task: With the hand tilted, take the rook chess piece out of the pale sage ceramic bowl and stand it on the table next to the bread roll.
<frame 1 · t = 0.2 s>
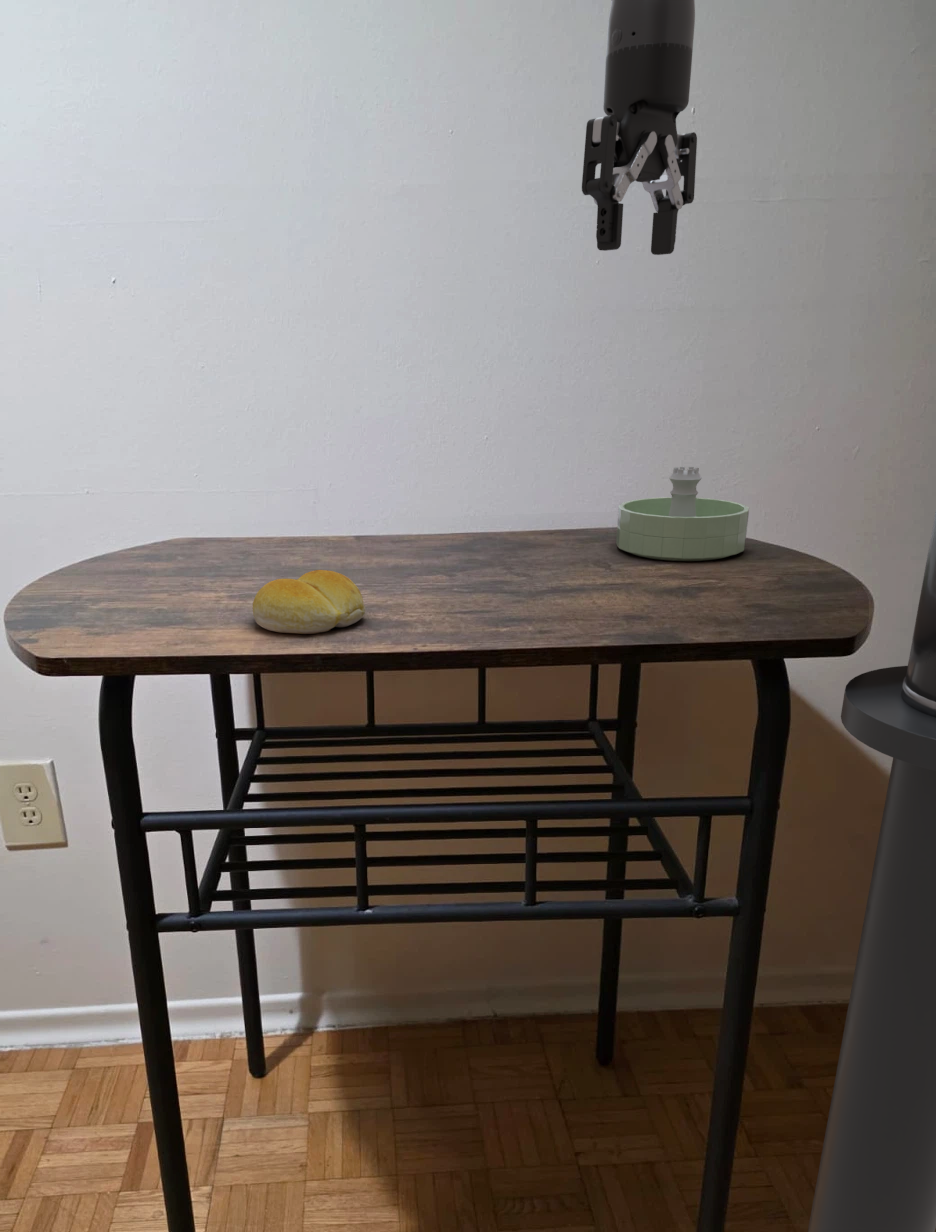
hand: (636, 252, 92), 29 cm above the table, tool pointing down, fingers open, 8 cm apart
bread roll: (310, 623, 80), on the table
bowl: (679, 549, 103), on the table
rook chess piece: (679, 547, 103), resting on bowl
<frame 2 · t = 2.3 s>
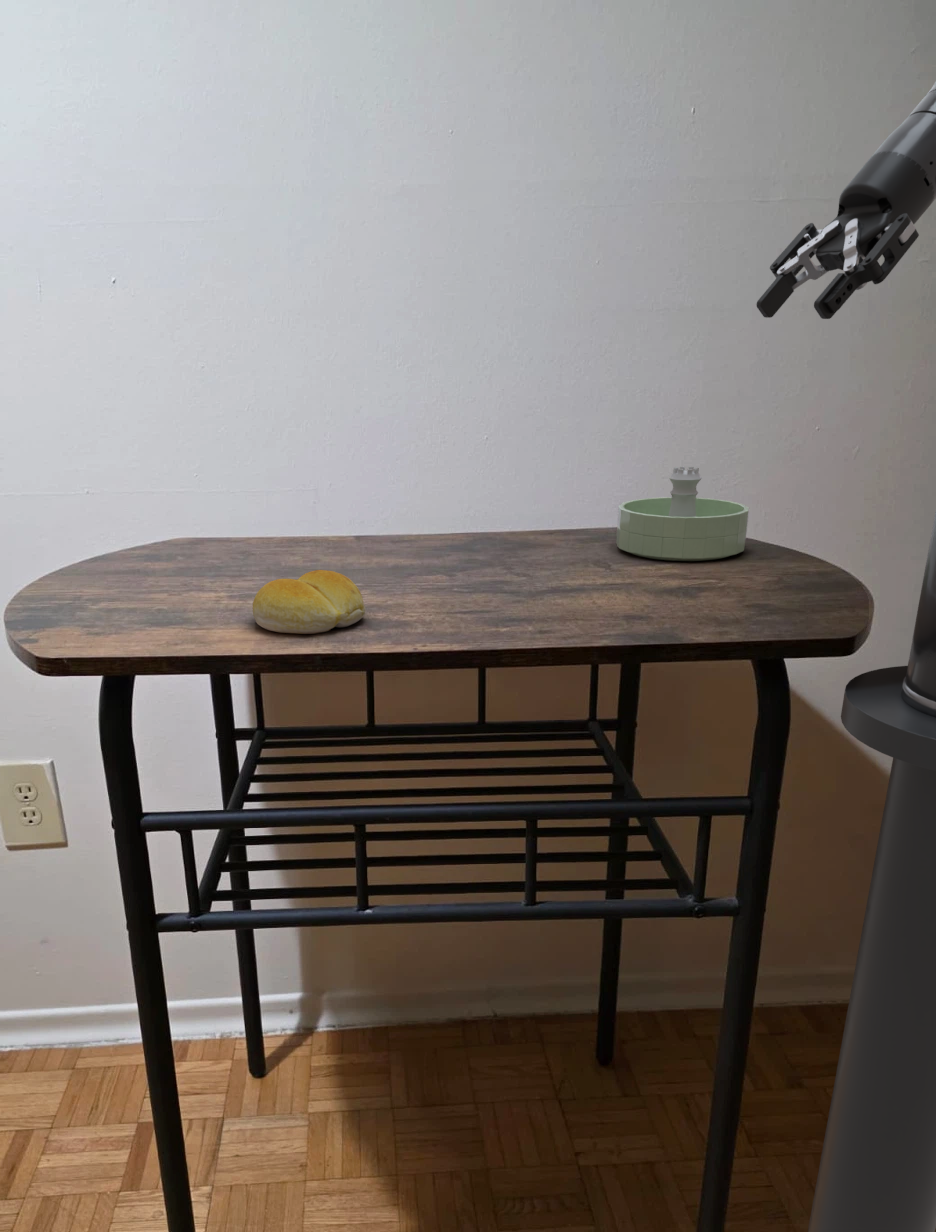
hand: (790, 312, 97), 23 cm above the table, tool tilted 45°, fingers open, 8 cm apart
nothing on the table moved.
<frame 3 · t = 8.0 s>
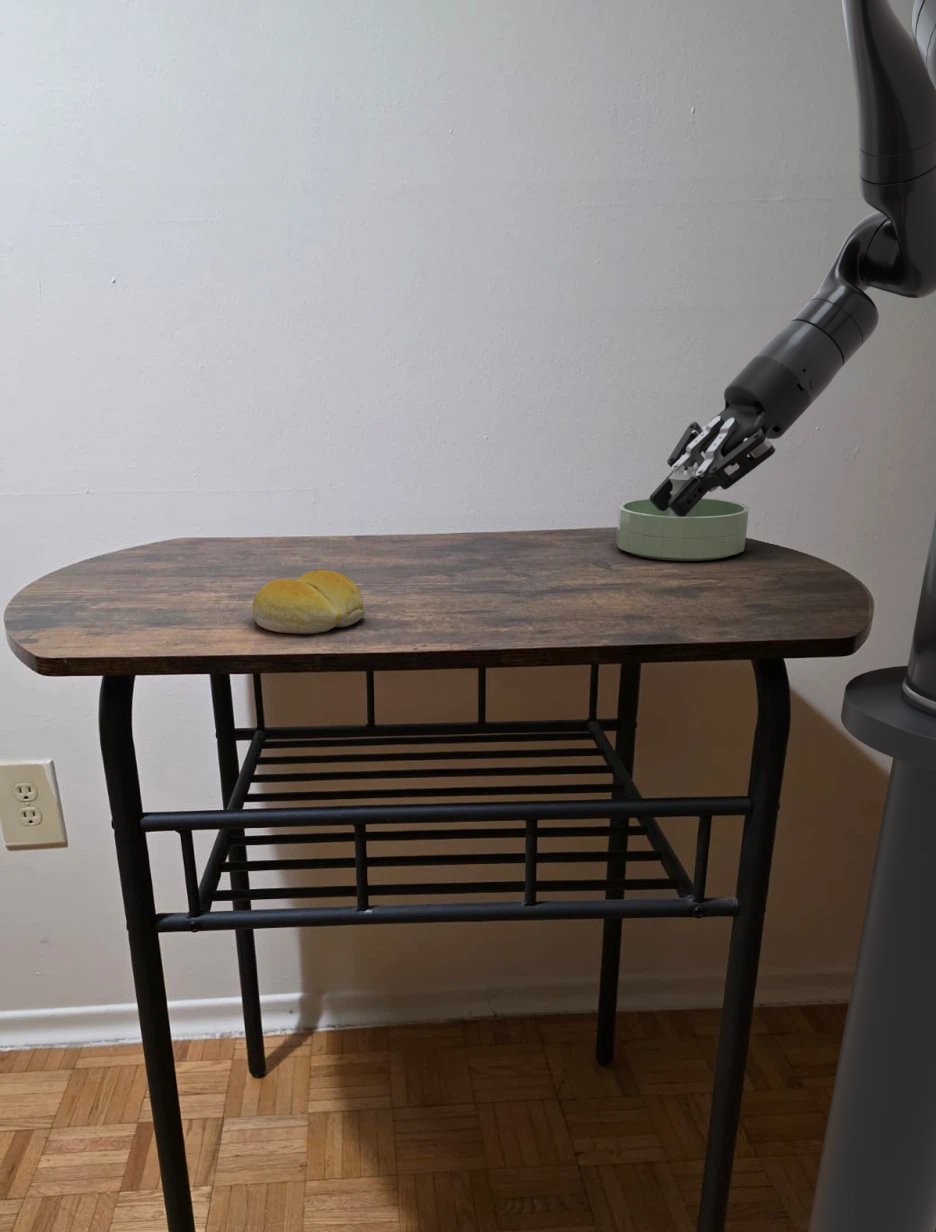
hand: (665, 507, 100), 5 cm above the table, tool tilted 45°, fingers closed on rook chess piece, 3 cm apart
rook chess piece: (679, 547, 103), resting on bowl, touching gripper
everything else where it was.
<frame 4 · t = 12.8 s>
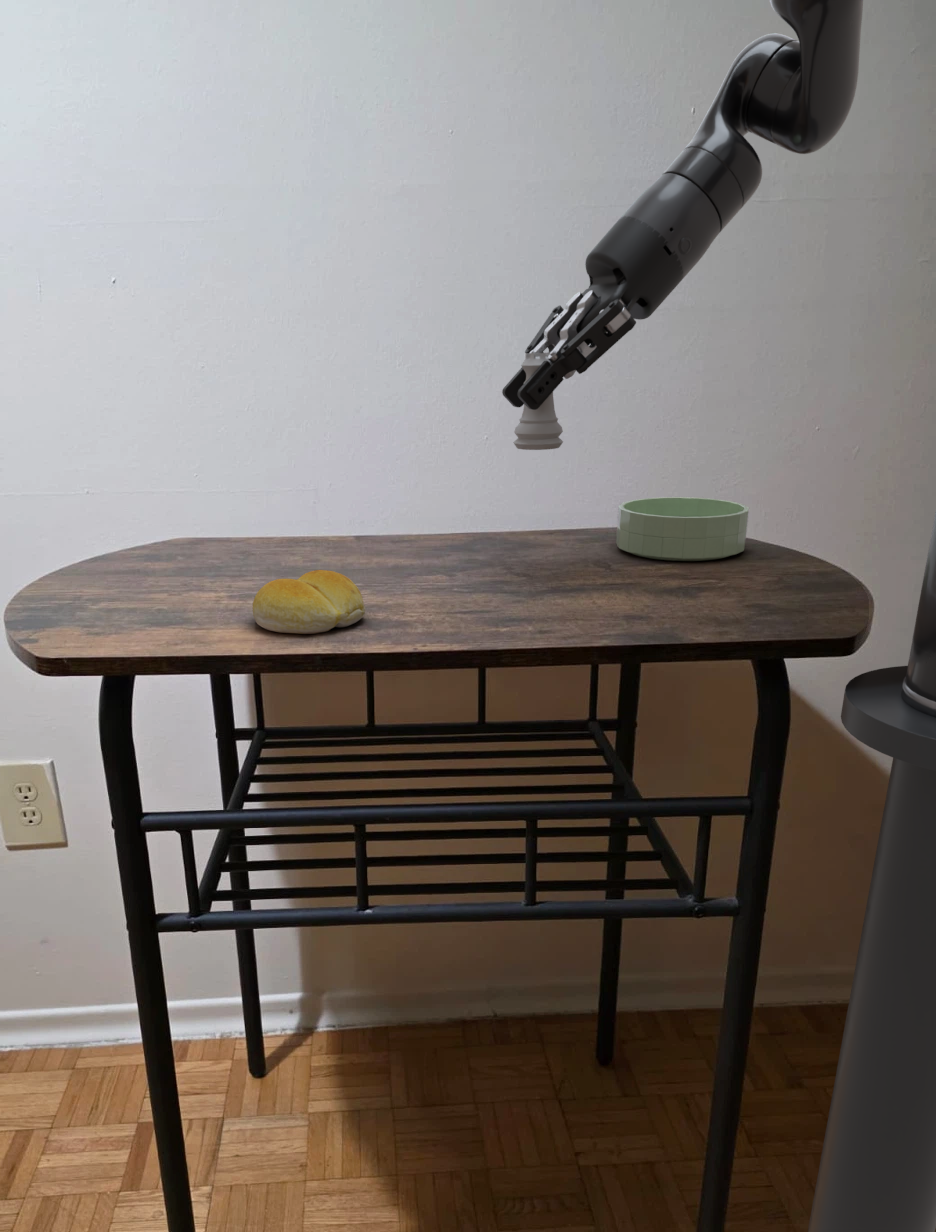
hand: (517, 401, 86), 16 cm above the table, tool tilted 45°, fingers closed on rook chess piece, 3 cm apart
rook chess piece: (538, 449, 88), point 12 cm above the table, touching gripper
everything else where it was.
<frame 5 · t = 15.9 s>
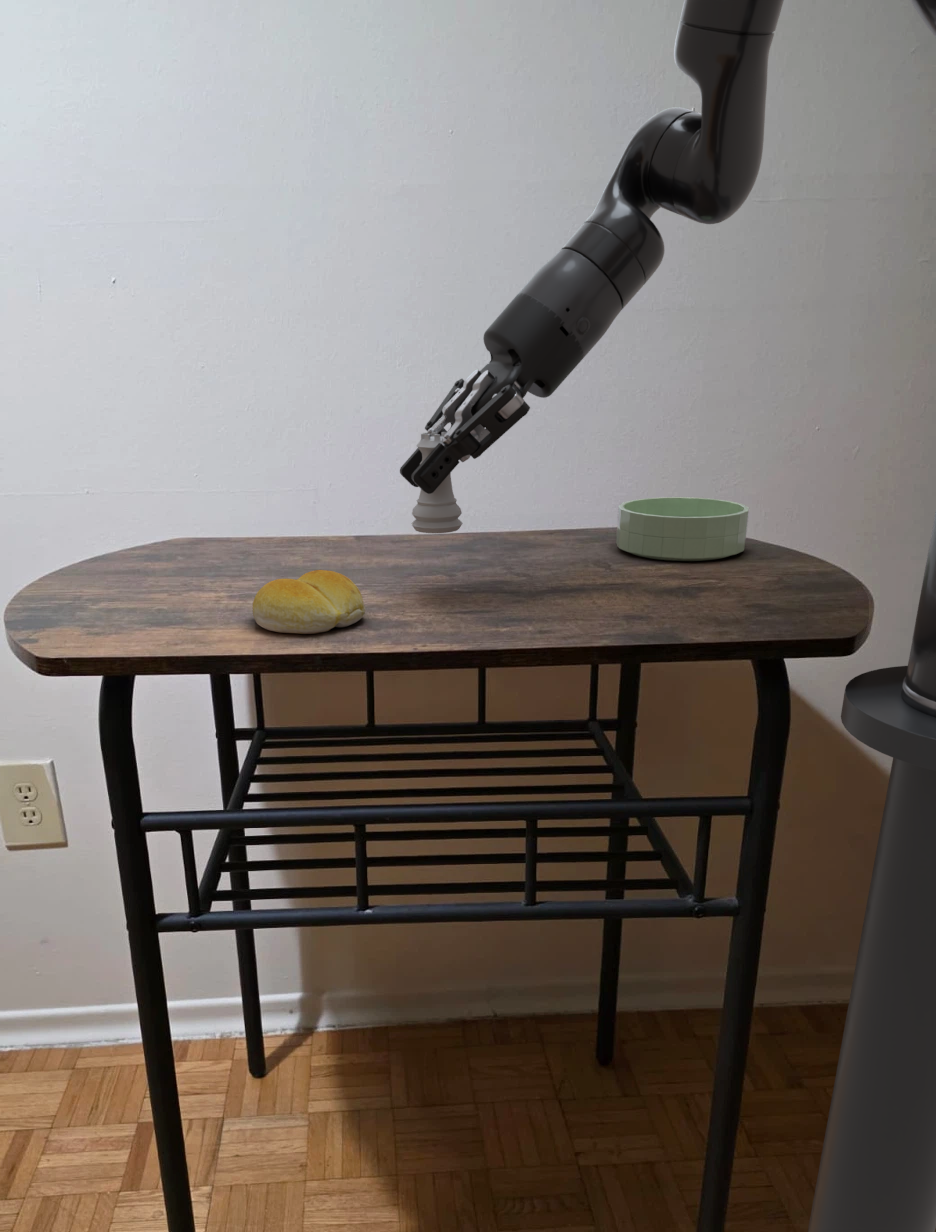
hand: (414, 482, 82), 10 cm above the table, tool tilted 45°, fingers closed on rook chess piece, 3 cm apart
rook chess piece: (437, 531, 84), point 6 cm above the table, touching gripper
everything else where it was.
when the fingers open (4 cm above the table, at t = 17.9 s): rook chess piece stays where it is, on the table.
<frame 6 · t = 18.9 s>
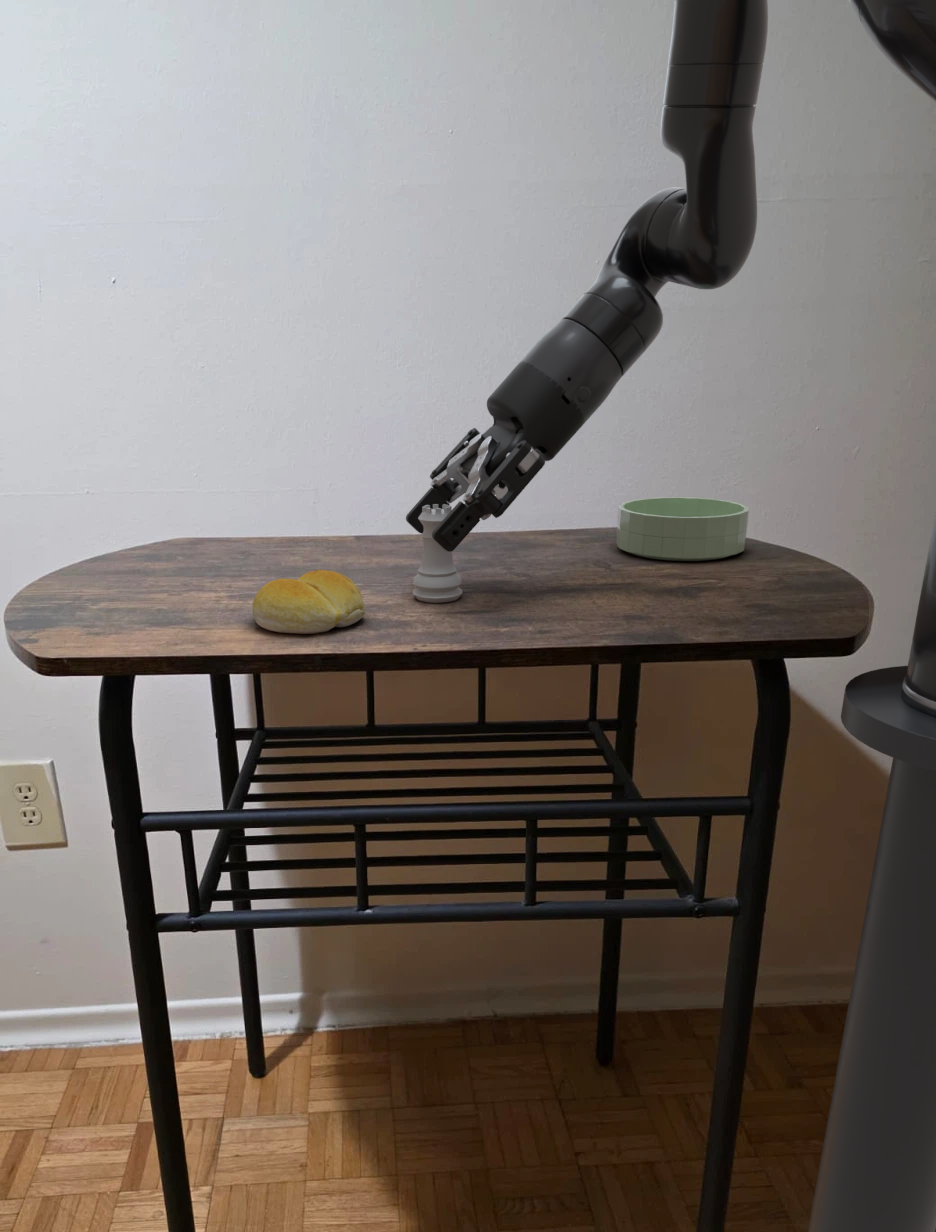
hand: (425, 535, 84), 6 cm above the table, tool tilted 45°, fingers open, 8 cm apart
rook chess piece: (437, 599, 86), on the table
everything else where it was.
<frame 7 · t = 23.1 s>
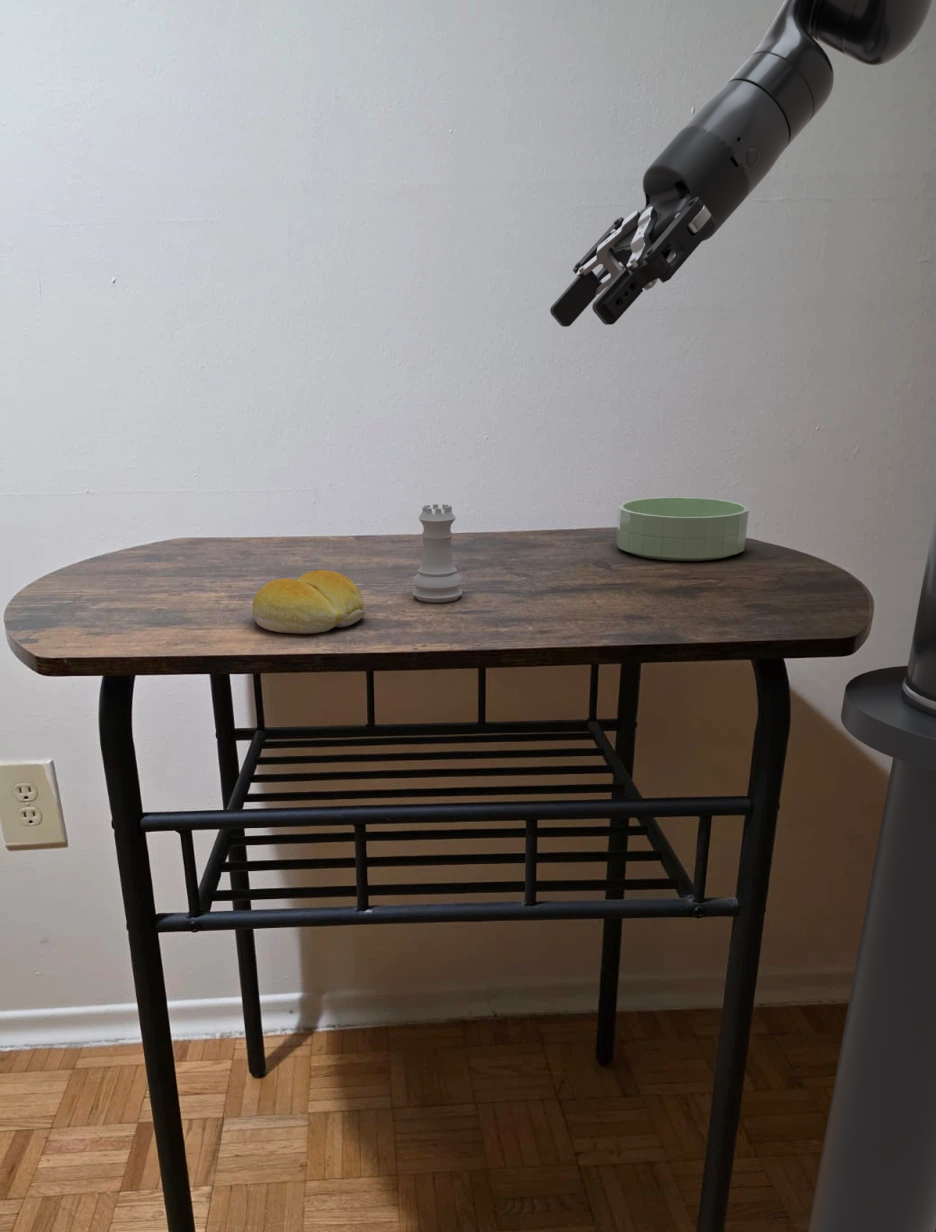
hand: (578, 318, 80), 23 cm above the table, tool tilted 45°, fingers open, 8 cm apart
nothing on the table moved.
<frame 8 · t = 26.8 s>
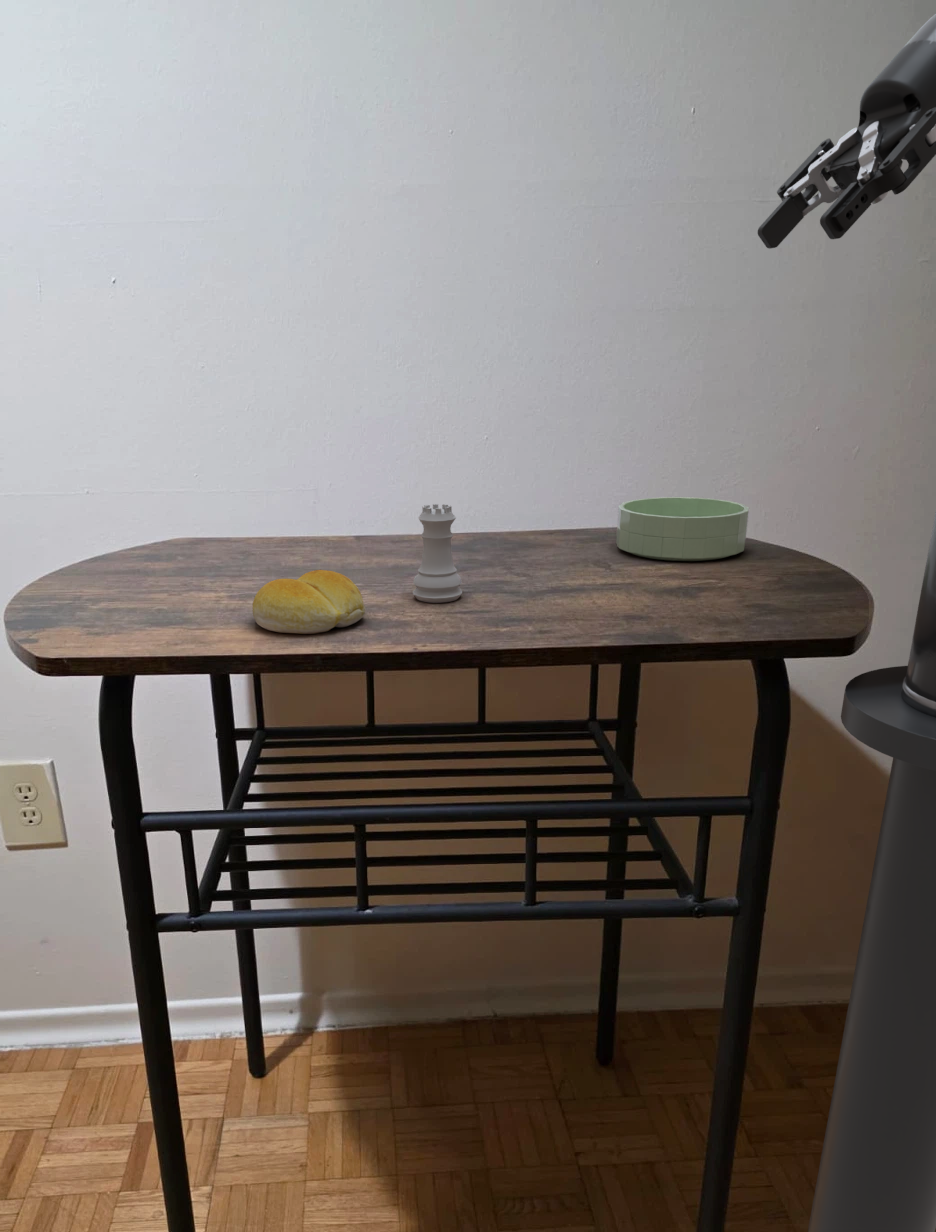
hand: (794, 236, 80), 29 cm above the table, tool tilted 45°, fingers open, 8 cm apart
nothing on the table moved.
at the end: rook chess piece inside the target area (0.1 cm from its centre), on the table; rook chess piece 12.8 cm from the bread roll (horizontally); rook chess piece tilted 0° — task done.
